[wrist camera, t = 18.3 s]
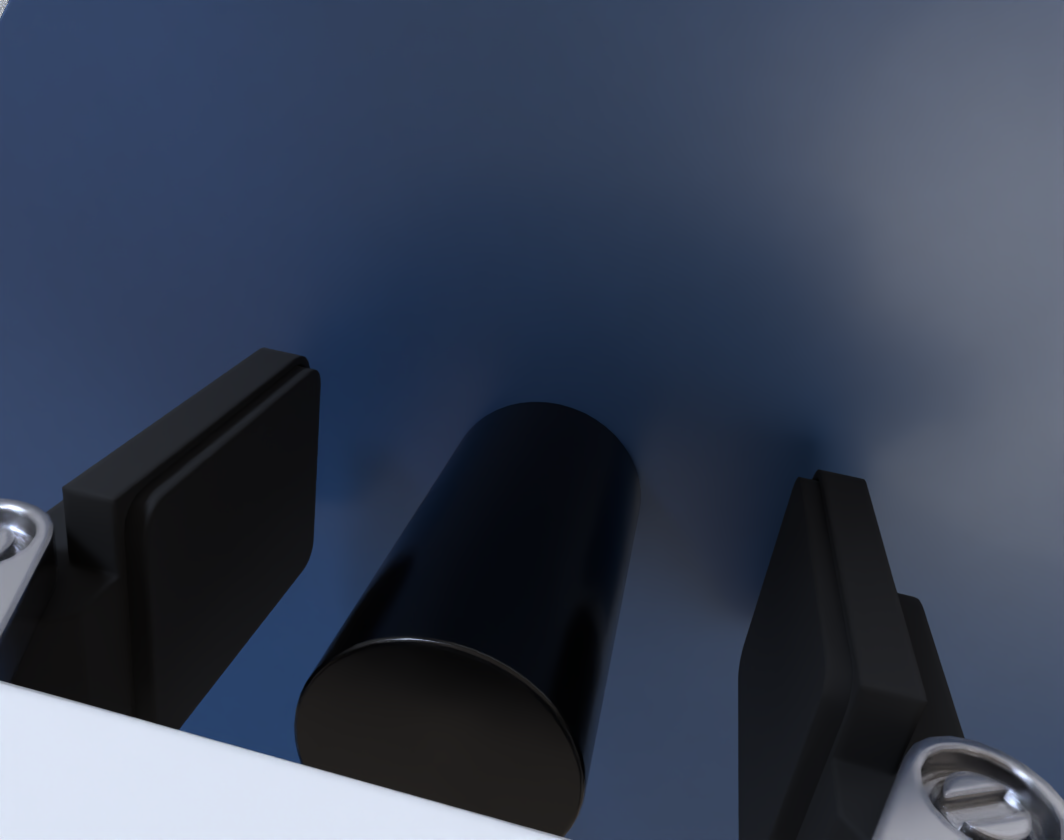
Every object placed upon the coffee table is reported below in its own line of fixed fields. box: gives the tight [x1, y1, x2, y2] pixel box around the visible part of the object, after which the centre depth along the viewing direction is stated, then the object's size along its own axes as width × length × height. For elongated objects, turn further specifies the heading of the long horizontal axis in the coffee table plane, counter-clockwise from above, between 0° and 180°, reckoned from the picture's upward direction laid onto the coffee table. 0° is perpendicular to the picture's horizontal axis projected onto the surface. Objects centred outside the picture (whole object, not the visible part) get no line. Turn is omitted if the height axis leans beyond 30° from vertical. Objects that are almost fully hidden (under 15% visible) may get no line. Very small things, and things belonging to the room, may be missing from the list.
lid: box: [0, 0, 1064, 840], centre depth 10 cm, size 18×18×6 cm
